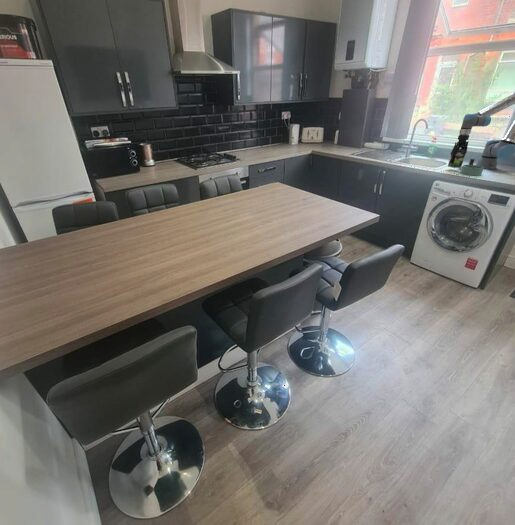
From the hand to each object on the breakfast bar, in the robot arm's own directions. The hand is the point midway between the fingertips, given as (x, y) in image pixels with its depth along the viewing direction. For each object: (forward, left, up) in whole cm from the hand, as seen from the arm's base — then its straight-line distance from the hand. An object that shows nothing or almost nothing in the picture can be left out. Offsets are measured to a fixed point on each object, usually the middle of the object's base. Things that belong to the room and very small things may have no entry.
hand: (455, 162), depth 249 cm
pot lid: (-13, +7, -6) cm, 16 cm away
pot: (+2, +15, -6) cm, 16 cm away
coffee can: (0, 0, -4) cm, 4 cm away
